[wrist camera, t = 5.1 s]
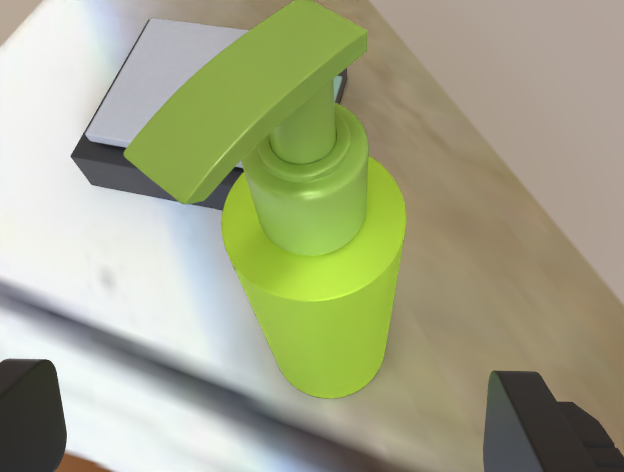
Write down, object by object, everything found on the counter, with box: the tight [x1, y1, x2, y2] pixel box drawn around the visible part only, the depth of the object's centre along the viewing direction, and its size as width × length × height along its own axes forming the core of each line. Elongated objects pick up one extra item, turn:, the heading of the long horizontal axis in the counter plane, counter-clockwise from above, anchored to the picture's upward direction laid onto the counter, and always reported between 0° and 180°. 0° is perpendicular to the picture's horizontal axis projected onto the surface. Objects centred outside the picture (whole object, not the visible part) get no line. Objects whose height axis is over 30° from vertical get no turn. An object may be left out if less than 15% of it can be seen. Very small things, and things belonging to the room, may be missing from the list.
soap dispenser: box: [124, 0, 406, 398], centre depth 20 cm, size 6×7×20 cm
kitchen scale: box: [71, 18, 347, 210], centre depth 34 cm, size 14×12×4 cm
